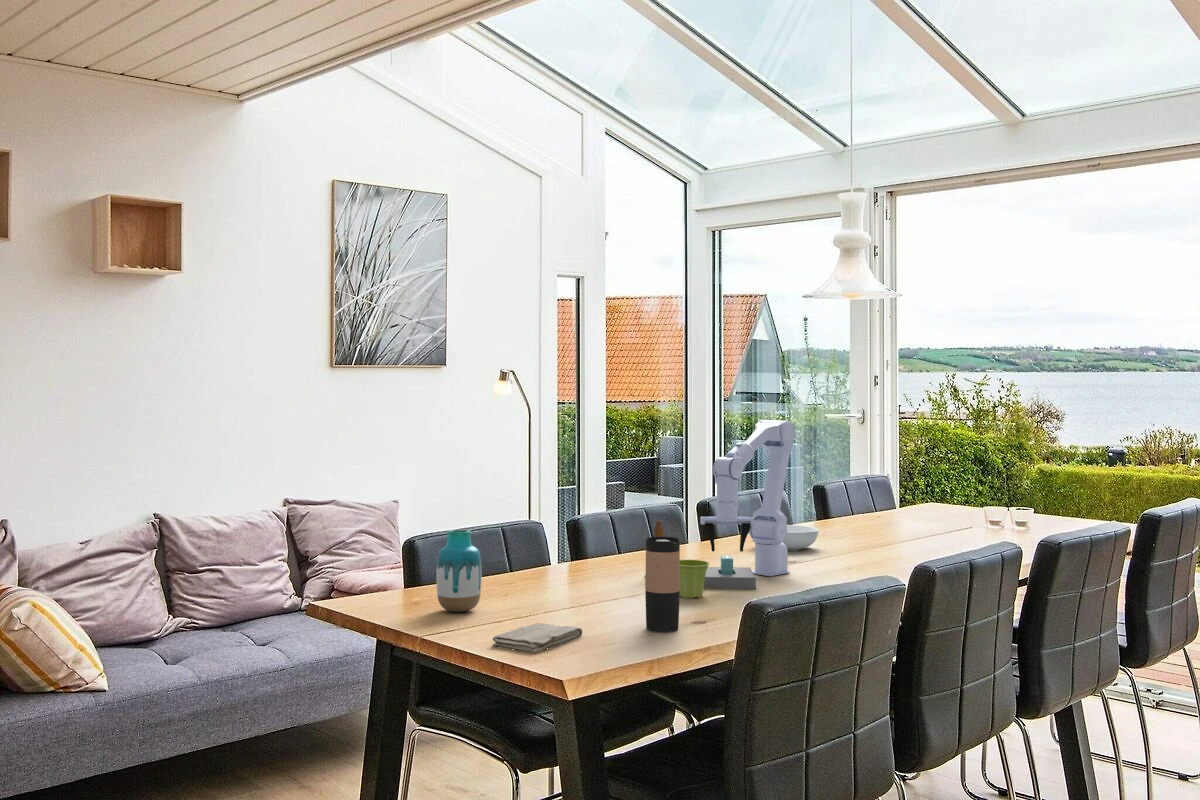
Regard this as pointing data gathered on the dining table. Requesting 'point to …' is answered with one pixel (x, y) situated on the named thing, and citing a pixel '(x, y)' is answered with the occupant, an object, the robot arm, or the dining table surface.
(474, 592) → the vase
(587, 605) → the dining table surface
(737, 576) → the keyed socket
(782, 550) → the robot arm
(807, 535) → the serving bowl
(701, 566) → the plant pot
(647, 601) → the travel mug
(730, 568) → the keyed peg
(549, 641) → the washcloth
